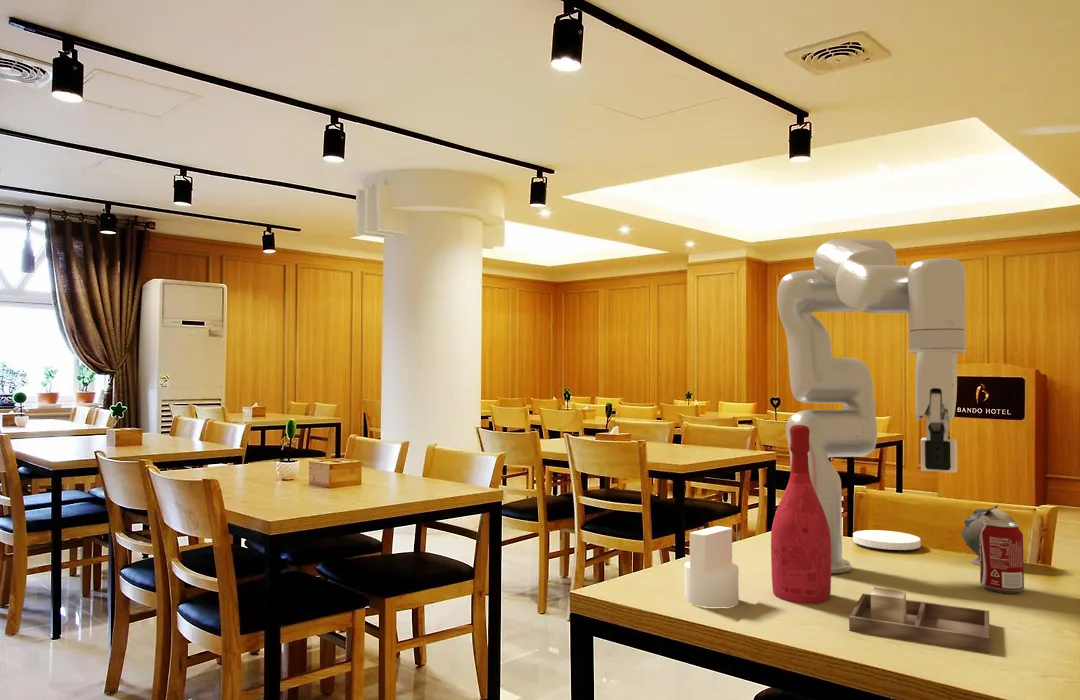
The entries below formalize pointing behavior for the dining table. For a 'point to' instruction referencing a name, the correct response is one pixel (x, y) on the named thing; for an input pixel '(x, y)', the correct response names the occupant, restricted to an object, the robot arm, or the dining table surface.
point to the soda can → (1001, 556)
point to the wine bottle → (800, 534)
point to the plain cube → (888, 605)
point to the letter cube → (952, 456)
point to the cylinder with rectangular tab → (711, 569)
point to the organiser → (928, 624)
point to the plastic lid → (886, 540)
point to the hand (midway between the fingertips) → (938, 466)
